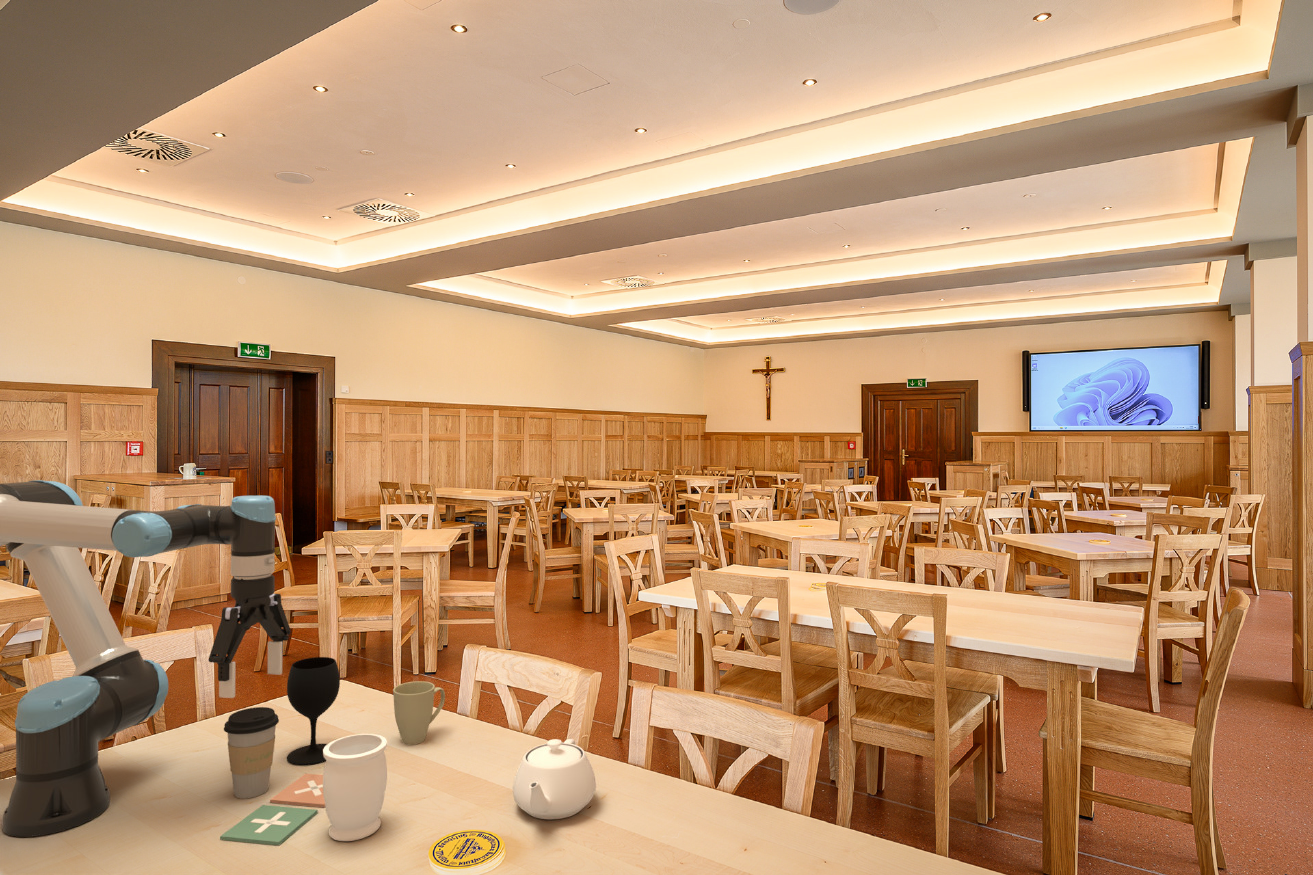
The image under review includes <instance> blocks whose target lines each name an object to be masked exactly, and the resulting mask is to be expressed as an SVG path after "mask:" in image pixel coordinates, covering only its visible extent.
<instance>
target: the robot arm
mask: <svg viewBox="0 0 1313 875" xmlns="http://www.w3.org/2000/svg"><path fill="white" fill-rule="evenodd" d="M275 505H276V504H275V500H274V498H273V497H272V496H270V495H240V496H234V497H233V498H232V499H231V504H230V505H210V504H208V505H205V504H199V503H195V504H185V505H184V504H183V505H180V506H178V507H177V508H175V509H169V510H168V509H167V510H157V511H154V510H153V511H152V510H140V509H139V510H138V509H125V508H116V507H115V508H113V507H103V506H102V507H100V506H89V505H87V506H86V505H83V502H82V500H81V498H80V496H79V494H78V493H76V491H75V490H74V489H73V488H71V487H70V486H68V485H67V484H65V483H63V482H59V481H55V480H39V479H38V480H35V479H34V480H29V481H20V482H4V483H0V547H2V546H5V547H6V549H7V550H8V553H9V555H10V557H11V558H14V559H17V560H21V561H24V564H25V565H26V567H27V570H28V572H29V573H30V576H31V578H32V580H33V582H34V584H35V586H36V588H37V590H38V592H39V595H40V597H41V599H42V600H43V602H44V605H45V606H46V609H47V611H48V613H49V614H50V617H51V620H52V621H53V623H54V626H55V627H56V629H57V631H58V633H59V635H60V637H61V639H62V642H63V644H64V645H65V647H66V650H67V651H68V654H69V657H70V658H71V660H72V663H73V664H74V667H75V669H74V670H75V671H73V672H74V673H73V674H72V676H69V677H63V678H61V679H58V680H52V681H48V682H45V683H43V684H41V685H39V686H36V687H35V688H33V689H31V690H28V692H26V693H25V694H24V695H23V696H22V697H21V698H20V700H19V701H18V704H17V708H16V718H15V720H14V725H15V761H16V762H15V784H14V786H13V788H12V792H11V795H10V797H9V802H8V805H7V807H6V808H5V809H4V812H3V814H2V831H3V833H4V834H6V835H8V836H11V837H20V838H21V837H22V838H25V837H29V838H31V837H39V836H45V835H51V834H54V833H59V832H63V831H66V830H69V829H72V828H75V827H77V826H81V825H83V824H85V823H87V822H89V821H91V820H93V819H96V818H97V817H98V816H100V815H101V814H103V813H104V812H105V811H107V809H108V807H109V805H110V789H109V786H108V785H106V784H107V783H106V781H105V777H104V775H103V772H102V770H101V768H100V765H99V742H101V741H102V740H105V739H107V738H109V737H112V736H113V735H115V734H118V733H120V732H122V731H125V730H126V729H129V728H131V727H134V726H136V725H139V724H141V723H143V722H144V721H146V720H148V718H151V717H153V716H154V715H155V714H156V713H158V712H159V711H160V710H161V708H162V707H163V705H164V704H165V701H166V697H167V696H168V694H169V693H168V692H169V678H168V675H167V673H166V671H165V668H163V667H162V665H161V664H159V663H158V662H155V661H154V660H151V659H143V656H142V654H141V652H140V650H139V649H138V648H135V647H132V646H128V645H126V643H125V641H124V638H123V636H122V634H121V633H120V631H119V629H118V628H119V627H118V626H117V625H116V622H115V620H114V618H113V616H112V614H111V612H110V609H109V608H108V606H107V604H106V602H105V600H104V598H103V596H102V594H101V591H100V589H99V587H98V585H97V584H96V581H95V580H94V578H93V576H92V574H91V571H90V569H89V568H88V565H87V562H86V561H85V559H84V557H83V555H82V553H81V551H80V549H90V550H91V549H92V550H101V551H103V550H104V551H112V552H113V551H117V552H119V553H121V554H122V555H123V556H124V557H128V558H147V557H153V556H155V555H160V554H162V553H168V552H172V551H177V550H183V549H189V548H194V547H197V546H204V545H225V546H226V545H230V576H233V577H232V578H231V579H230V597H231V598H233V599H234V600H235V603H234V604H235V605H234V607H223V608H222V609H221V616H220V623H219V626H218V629H217V632H216V635H215V639H214V641H213V644H212V648H211V649H210V654H209V655H208V662H209V663H215V664H217V679H218V697H219V698H222V699H223V698H225V699H226V698H227V699H228V698H229V699H234V698H235V697H236V661H233V659H234V657H235V656H236V653H237V651H238V650H239V647H240V645H241V643H242V641H243V639H244V637H245V635H246V633H247V631H248V630H250V629H251V627H252V626H255V625H256V624H258V623H259V624H260V626H261V628H263V630H264V631H265V633H266V634H267V636H268V638H269V639H270V640H269V641H267V675H279V676H280V675H282V674H283V655H284V641H285V642H286V641H288V640H289V638H290V635H291V634H292V633H291V632H292V630H291V628H290V624H289V621H288V619H287V616H286V612H285V610H284V608H283V604H282V595H281V593H275V592H276V590H275V588H276V586H275V585H276V584H275V583H276V582H275V579H276V576H274V574H273V573H274V572H275V571H276V570H275V568H276V567H275V551H276V550H275V538H276V535H275V534H276V533H275V532H276V521H277V515H276V506H275Z"/></svg>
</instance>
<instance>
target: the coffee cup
mask: <svg viewBox="0 0 1313 875" xmlns="http://www.w3.org/2000/svg"><path fill="white" fill-rule="evenodd" d="M275 712H276V711H275V709H274V708H271V707H265V706H260V707H250V708H244V709H240V710H238V711H235V712H233V713H232V714H230V715H229V717H228V720H227V721H226V722H225V723H224V727H223V731H224V732H225V733H227V749H228V758H229V759H228V760H229V769H230V773H231V778H232V787H233V788H232V789H233V795H234V797H235V798H237V799H241V800H242V799H243V800H244V799H245V800H246V799H247V800H248V799H252V798H256V797H259V796H261V795H264V794H265V793H266V792H267V791H268V790H269V786H270V778H271V769H272V766H273V759H274V753H275V750H274V749H275V743H276V728H277V726H276V725H278V724H279V722H280V719H279V715H278V714H277V713H275Z"/></svg>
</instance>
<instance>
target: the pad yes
mask: <svg viewBox="0 0 1313 875" xmlns="http://www.w3.org/2000/svg"><path fill="white" fill-rule="evenodd" d="M318 813H319V810H318V809H313V808H303V807H292V806H291V807H290V806H281V805H268V804H262V805H261V806H259V807H258V808H257V809H255V810H253V811H252V812H251V813H250V814H249V815H247V816H246V817H244V818H243V819H242V820H240V821H239V822H238V823H236V824H234V825H233V826H232V827H231V828H229V829H228V830H227V831H225V832H224V833H222V834H220V836H219V840H220V841H229V842H238V843H239V842H240V843H249V844H261V845H269V846H270V845H271V846H280V845H281V844H283V843H284V842H285V841H286V840H288V838H290V837H291V836H293V834H295V833H296V832H297V831H299V830H300V828H302V827H303V826H304V825H305V824H306V823H308V822H309V821H310V820H311V819H312V818H313V817H315V816H316V815H317V814H318Z"/></svg>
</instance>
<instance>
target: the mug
mask: <svg viewBox="0 0 1313 875" xmlns="http://www.w3.org/2000/svg"><path fill="white" fill-rule="evenodd" d="M437 692H440V701H439V704H438V706H437V707H436V709H435V711H434V699H435V694H436V693H437ZM392 694H393V696H392V697H393V710H394V718H395V719H394V720H395V724H396V726H397V729H398V733H399V735H400V738H401V742H402V743H403V744H404V745H409V746H410V745H413V746H414V745H418V744H421V743H423V742H424V741H425V739H426V736H427V733H428V730H429V727H430V725H431V724H432V722H433V721H434V720H435V719H436V718H437V716H439V713H440V712H441V710H442V709H443V707H444V704H445V702H446V693H445V690H444V688H442V687H439V686H438V687H437V686H435V684H434V683H433V682H430V681H424V680H423V681H418V680H416V681H409V682H404V683H401V684H398V685H396V686H395V687H394V688H393V690H392Z"/></svg>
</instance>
